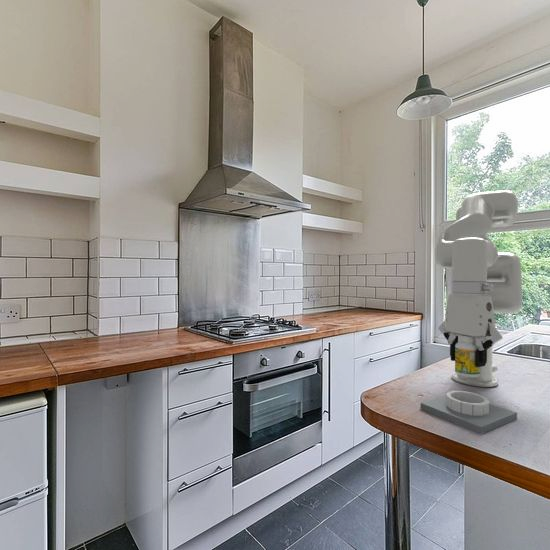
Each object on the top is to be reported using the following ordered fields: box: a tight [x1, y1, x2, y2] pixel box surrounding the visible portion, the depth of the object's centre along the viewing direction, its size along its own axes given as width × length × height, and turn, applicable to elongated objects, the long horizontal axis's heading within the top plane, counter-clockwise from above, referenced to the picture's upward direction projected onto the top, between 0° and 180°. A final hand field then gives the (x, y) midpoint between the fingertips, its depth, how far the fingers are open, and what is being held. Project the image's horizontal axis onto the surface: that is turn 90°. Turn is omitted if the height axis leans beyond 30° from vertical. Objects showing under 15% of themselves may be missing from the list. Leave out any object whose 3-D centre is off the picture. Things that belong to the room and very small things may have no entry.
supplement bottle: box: [454, 335, 480, 377], centre depth 81 cm, size 5×5×10 cm
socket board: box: [419, 390, 518, 435], centre depth 82 cm, size 15×15×4 cm
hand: (467, 362), depth 81 cm, fingers closed on supplement bottle, 5 cm apart
